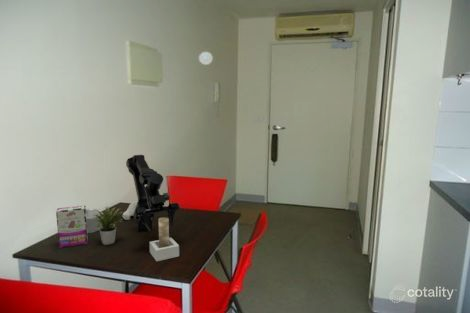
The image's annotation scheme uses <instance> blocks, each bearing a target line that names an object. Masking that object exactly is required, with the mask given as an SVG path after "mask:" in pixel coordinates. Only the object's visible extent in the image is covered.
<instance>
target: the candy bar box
mask: <svg viewBox="0 0 470 313" xmlns="http://www.w3.org/2000/svg"><path fill="white" fill-rule="evenodd" d="M86 208H87V207H86V205H78V206H68V207H67V206H66V207H58V208H57V210H56V211H55V214H56V225H57V237H58V239H57V240H58V248H59V249H62V248H69V247H77V246H84V245H88V233H87V221H86Z"/></svg>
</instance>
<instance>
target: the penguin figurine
mask: <svg viewBox="0 0 470 313" xmlns="http://www.w3.org/2000/svg"><path fill="white" fill-rule="evenodd" d="M137 202H138V200H134V201H132V202H131V203H130V204H129V205H128V207H127V209H126V211H123V212H122V215H124V216H122V219H123V220H125V221H127V220H131V216H133V217H134V211H135V208H136V205H137Z"/></svg>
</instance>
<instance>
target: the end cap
mask: <svg viewBox="0 0 470 313" xmlns="http://www.w3.org/2000/svg"><path fill="white" fill-rule="evenodd" d="M149 253H150V255H151V256H152V257H153V259H154V260H155V262H160V261H165V260H168V259H173V258H177V257H180V245H179V244H178V243H177V242H176V241H175V240H174V239H173V238H172V237H169V246H168V247H163V248H159V239H157V240H152V241H149Z"/></svg>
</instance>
